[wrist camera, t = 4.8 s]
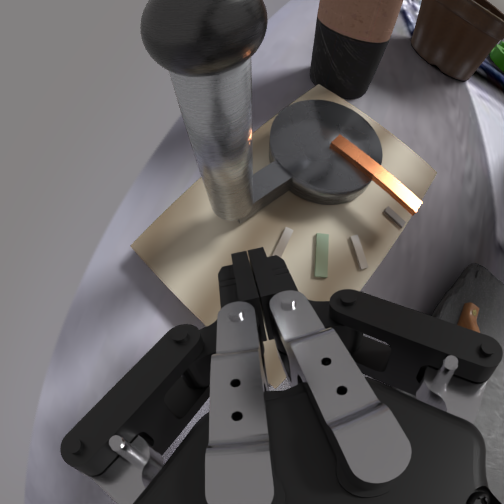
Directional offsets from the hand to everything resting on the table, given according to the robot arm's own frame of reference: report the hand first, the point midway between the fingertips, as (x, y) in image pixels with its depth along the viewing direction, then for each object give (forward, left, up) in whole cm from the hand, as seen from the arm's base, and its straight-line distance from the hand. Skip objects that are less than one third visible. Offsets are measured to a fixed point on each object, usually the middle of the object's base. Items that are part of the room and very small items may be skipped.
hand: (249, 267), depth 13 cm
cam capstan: (+1, -9, -7) cm, 11 cm away
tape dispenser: (-9, -81, -9) cm, 82 cm away
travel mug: (+9, -25, -9) cm, 28 cm away
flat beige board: (+2, -8, -9) cm, 12 cm away
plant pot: (+2, -50, -9) cm, 51 cm away
